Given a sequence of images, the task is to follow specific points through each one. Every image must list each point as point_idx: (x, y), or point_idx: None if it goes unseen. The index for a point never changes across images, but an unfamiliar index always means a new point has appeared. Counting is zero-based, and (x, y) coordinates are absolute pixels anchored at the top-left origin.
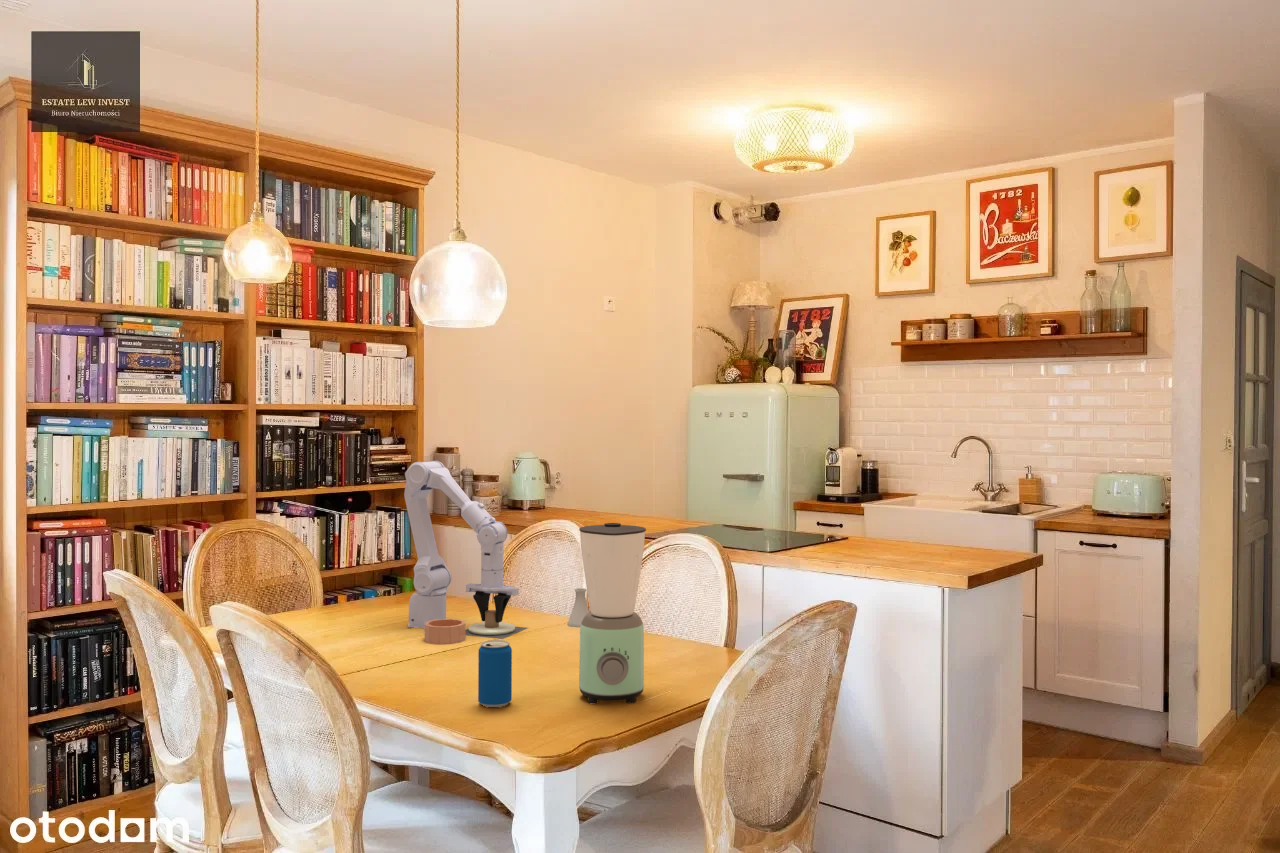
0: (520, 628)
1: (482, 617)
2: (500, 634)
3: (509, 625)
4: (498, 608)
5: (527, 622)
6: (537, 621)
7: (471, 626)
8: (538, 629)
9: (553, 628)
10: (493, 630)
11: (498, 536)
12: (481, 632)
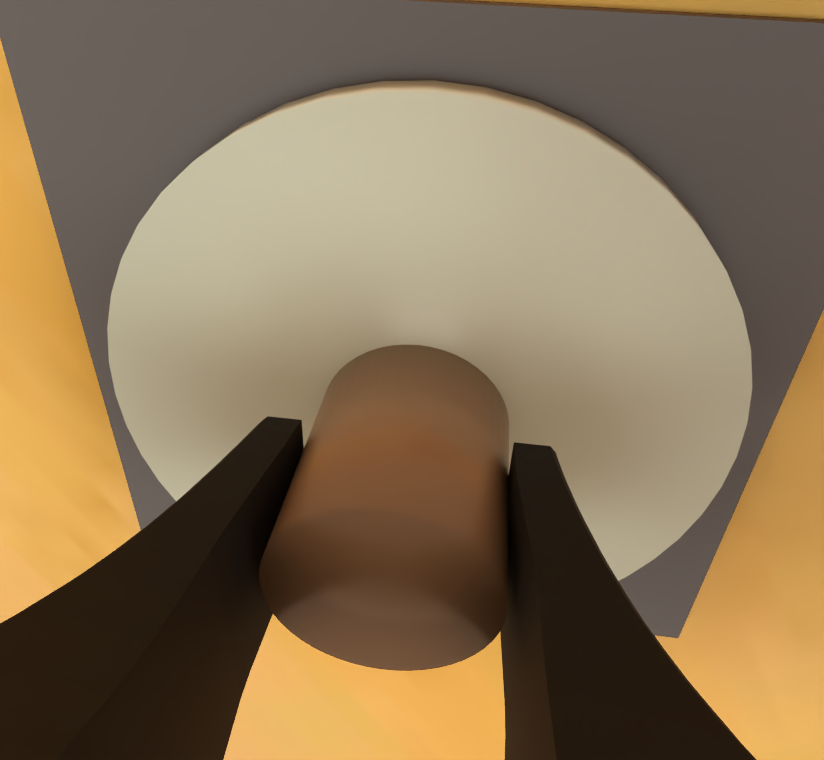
0: None
1: (536, 476)
2: None
3: None
4: (120, 563)
5: (320, 723)
6: (270, 748)
7: (708, 369)
8: (81, 570)
9: (7, 612)
10: (265, 226)
11: None
12: (409, 91)
